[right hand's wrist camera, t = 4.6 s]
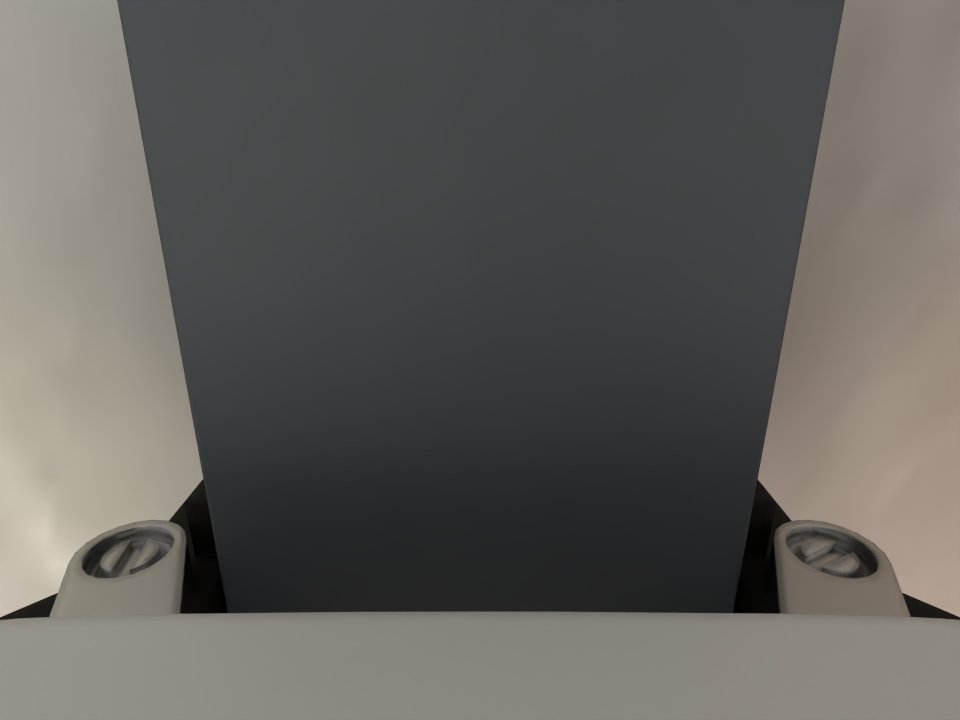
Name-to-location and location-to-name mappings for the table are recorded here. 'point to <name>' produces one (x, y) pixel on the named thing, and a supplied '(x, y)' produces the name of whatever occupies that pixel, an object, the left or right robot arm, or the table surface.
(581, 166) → the post
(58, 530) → the table surface
